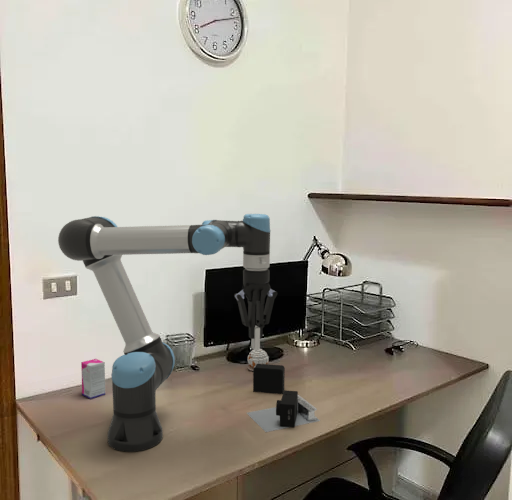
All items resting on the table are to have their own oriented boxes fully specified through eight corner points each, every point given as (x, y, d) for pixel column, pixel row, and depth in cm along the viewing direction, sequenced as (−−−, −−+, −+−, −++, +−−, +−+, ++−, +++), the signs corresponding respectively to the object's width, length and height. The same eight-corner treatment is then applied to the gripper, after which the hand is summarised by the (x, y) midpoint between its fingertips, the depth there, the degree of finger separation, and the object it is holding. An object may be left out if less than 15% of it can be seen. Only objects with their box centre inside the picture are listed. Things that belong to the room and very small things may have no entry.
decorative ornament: (251, 364, 216) (251, 327, 214) (270, 366, 214) (270, 329, 212) (245, 371, 209) (245, 333, 207) (265, 373, 207) (265, 334, 205)
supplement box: (106, 394, 187) (105, 361, 185) (90, 399, 183) (89, 366, 181) (97, 389, 191) (95, 357, 189) (81, 394, 186) (80, 362, 185)
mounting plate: (265, 437, 157) (265, 432, 157) (246, 417, 170) (246, 412, 170) (320, 425, 164) (320, 420, 164) (297, 407, 177) (297, 403, 177)
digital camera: (279, 411, 171) (280, 389, 170) (297, 412, 170) (297, 390, 169) (275, 426, 161) (275, 403, 160) (294, 427, 160) (294, 404, 159)
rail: (308, 421, 164) (308, 410, 163) (289, 406, 175) (289, 395, 174) (317, 419, 165) (317, 408, 164) (297, 404, 176) (298, 393, 175)
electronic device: (282, 398, 184) (282, 369, 183) (253, 396, 186) (253, 367, 185) (284, 393, 188) (284, 365, 187) (255, 391, 190) (255, 363, 189)
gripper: (240, 272, 151) (239, 355, 154) (282, 269, 156) (281, 349, 159) (230, 267, 158) (229, 347, 161) (271, 265, 163) (270, 342, 166)
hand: (255, 348), depth 160 cm, fingers closed
